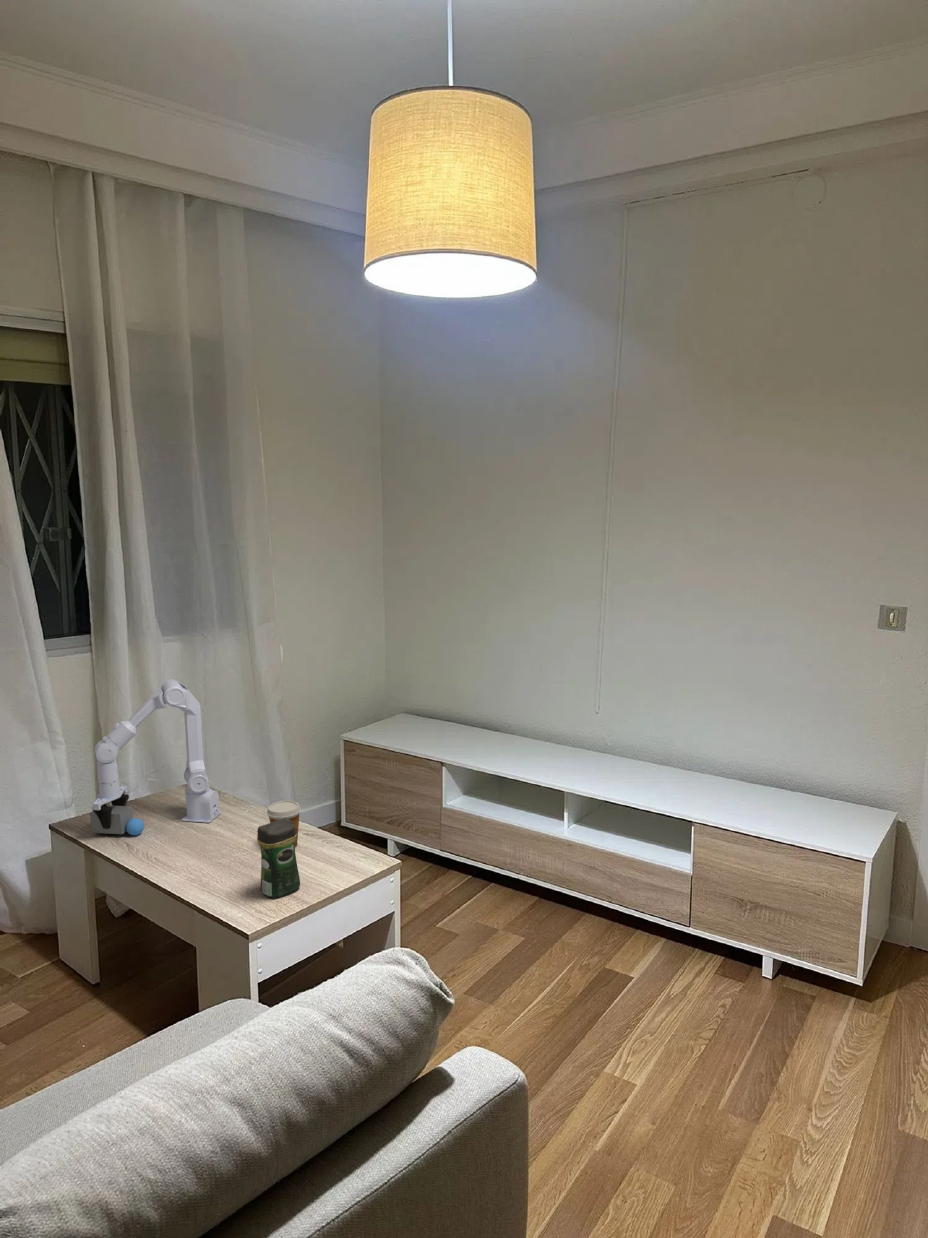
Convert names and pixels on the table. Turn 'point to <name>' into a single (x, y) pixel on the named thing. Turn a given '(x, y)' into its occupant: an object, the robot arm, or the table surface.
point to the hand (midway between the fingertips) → (113, 823)
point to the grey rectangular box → (113, 820)
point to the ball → (135, 826)
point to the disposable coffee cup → (285, 813)
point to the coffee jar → (278, 858)
